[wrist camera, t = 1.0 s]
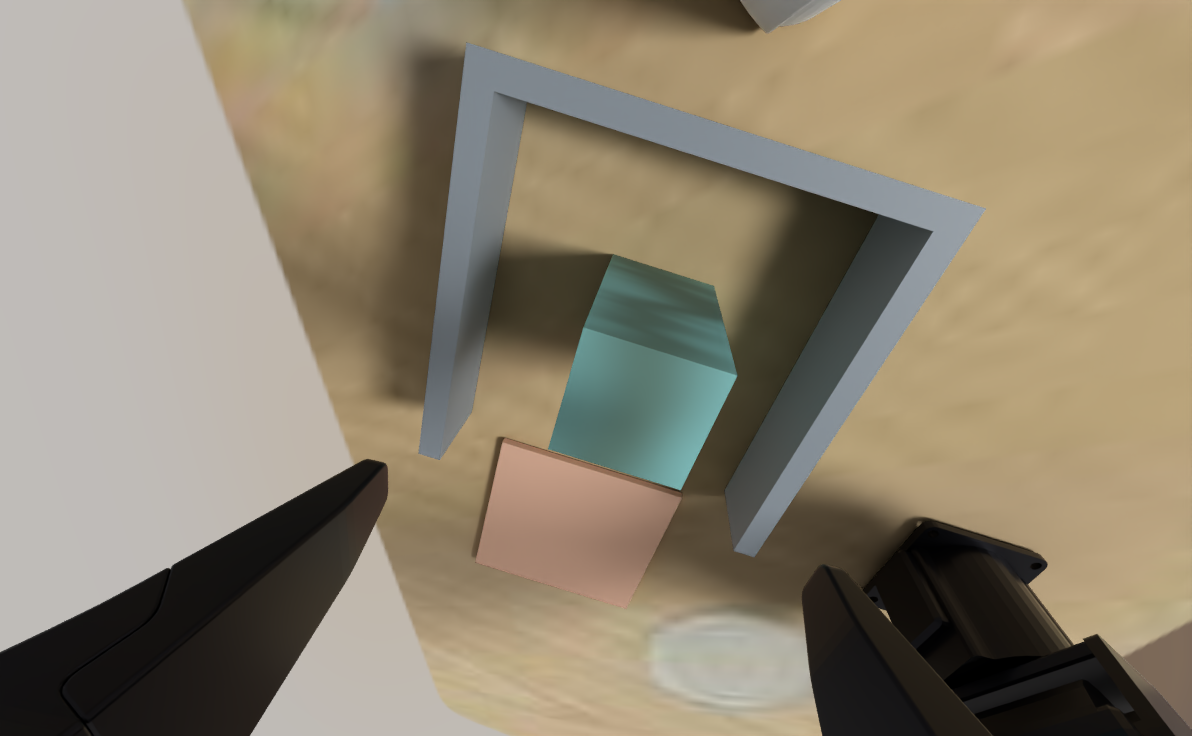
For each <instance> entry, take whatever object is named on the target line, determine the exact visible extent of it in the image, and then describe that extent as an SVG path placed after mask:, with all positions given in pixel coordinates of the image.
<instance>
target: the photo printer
mask: <svg viewBox="0 0 1192 736" xmlns="http://www.w3.org/2000/svg"><path fill="white" fill-rule="evenodd" d="M740 1H741V3H742V4H743V6H744V7H745V9H746V10H747V11H748V13H749V14H750V16H751V17H752V18H753V19H754V21H755V22H756V23H757V24H758V25H759V26H760V28H761V29H762V30H763V31H764V32H765V33H770V32H772V31H773V30H774V29H776V28H777V27H778V26H789V25H795V24H799V23H802V22H804V21H807V20H809V19H811V18H813V17H814V16H816V15H818V14H819V13H821V12H822V11H824V10H826V9H827V8H829V7H831V6H832V5H834V4H836V3H837V2H839V1H841V0H740Z"/></svg>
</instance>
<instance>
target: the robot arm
mask: <svg viewBox="0 0 1192 736" xmlns="http://www.w3.org/2000/svg"><path fill="white" fill-rule="evenodd" d="M387 496H388V467H387V465H386V464H385V463H384V462H379V461H375V460H371V459H366V460H363V461H361V462H359V463H357V464H355V465H353V466H352V467H350V468H348V469H346V470H344V471H343V472H341V473H339V474H337V475H335V476H333V477H332V478H330V479H328V480H326V481H324V482H323V483H321V484H319V485H317V486H315V487H313V488H312V489H310V490H308V491H306V492H304V493H303V494H301V495H299V496H297V497H295V498H293V499H292V500H290V501H288V502H286V503H284V504H283V505H281V506H279V507H277V508H276V509H274V510H272V511H270V512H268V513H266V514H264V515H263V516H261V517H259V518H257V519H255V520H254V521H252V522H250V523H248V524H246V525H244V526H243V527H241V528H239V529H237V530H235V531H234V532H232V533H230V534H228V535H226V536H224V537H223V538H221V539H219V540H217V541H215V542H214V543H212V544H210V545H208V546H206V547H204V548H203V549H201V550H199V551H197V552H196V553H194V554H192V555H190V556H188V557H186V558H185V559H183V560H181V561H179V562H177V563H176V564H174V565H173V566H172V567H171V569H169V568H166V569H164V570H163V571H161V572H159V573H157V574H155V575H153V576H152V577H150V578H148V579H146V580H144V581H143V582H141V583H139V584H137V585H135V586H133V587H131V588H129V589H127V590H125V591H124V592H122V593H120V594H118V595H116V596H114V597H112V598H111V599H109V600H107V601H105V602H103V603H101V604H100V605H97V606H95V607H93V608H91V609H89V610H87V611H85V612H83V613H81V614H79V615H77V616H75V617H73V618H71V619H69V620H66V621H64V622H62V623H61V624H58V625H56V626H55V627H52V628H50V629H48V630H46V631H44V632H42V633H40V634H38V635H35V636H33V637H32V638H29V639H27V640H25V641H23V642H21V643H19V644H17V645H14V646H12V647H10V648H8V649H6V650H4V651H2V652H0V736H250V734H251V733H252V731H253V730H254V728H255V727H256V725H257V723H258V722H259V720H260V719H261V717H262V715H263V714H264V712H265V711H266V709H267V707H268V706H269V704H270V703H271V701H272V699H273V698H274V696H275V695H276V693H277V691H278V690H279V688H280V686H281V685H282V683H283V682H284V680H285V679H286V677H287V675H288V674H289V672H290V671H291V669H292V667H293V666H294V664H295V663H296V661H297V659H298V658H299V656H300V655H301V653H302V651H303V650H304V648H305V647H306V645H307V643H308V642H309V640H310V639H311V637H312V635H313V634H314V632H315V630H316V629H317V627H318V626H319V624H320V623H321V621H322V619H323V618H324V616H325V614H326V613H327V611H328V609H329V608H330V607H331V605H332V603H333V602H334V600H335V599H336V597H337V595H338V594H339V592H340V591H341V589H342V587H343V586H344V584H345V582H346V581H347V579H348V577H349V576H350V574H351V572H352V570H353V568H354V566H355V564H356V562H357V560H358V558H359V556H360V554H361V552H362V550H363V548H364V546H365V544H366V542H367V540H368V538H369V535H370V533H371V531H372V529H373V527H374V525H375V523H376V521H377V519H378V517H379V515H380V513H381V511H382V509H383V507H384V505H385V502H386V500H387ZM1047 565H1048V564H1047V562H1046V561H1045V560H1044V558H1043V557H1042V556H1041V555H1040V554H1038V553H1035V552H1031V551H1028V550H1025V549H1022V548H1019V547H1015V546H1012V545H1009V544H1006V543H1002V542H999V541H996V540H993V539H990V538H986V537H983V536H980V535H977V534H974V533H970V532H967V531H964V530H961V529H958V528H954V527H951V526H948V525H945V524H941V523H938V522H935V521H927V522H924V523H922V524H921V525H920V526H919V527H918V528H917V529H916V530H915V531H914V533H913V534H912V535H911V536H910V537H909V538H908V539H907V540H906V542H905V543H904V544H903V545H902V546H901V547H900V548H899V550H898V551H897V552H896V553H895V554H894V555H893V556H892V558H891V559H890V560H889V561H888V562H887V563H886V564H885V565H884V567H883V568H882V569H881V570H880V571H879V572H878V573H877V575H876V576H875V577H874V578H873V579H872V580H871V581H870V582H869V584H868V585H867V586H866V587H865V588H864V589H863V590H862V589H861V588H860V587H859V586H858V585H857V584H856V583H855V581H854V580H853V579H852V578H851V577H850V576H849V575H848V574H847V573H846V572H845V571H844V570H843V569H841V568H839V567H834V566H830V565H826V564H822V565H820V566H819V567H818V568H817V569H816V571H815V572H814V574H813V575H812V576H811V578H810V579H809V581H808V582H807V584H806V585H805V587H804V589H803V592H802V606H803V615H804V625H805V634H806V644H807V653H808V662H809V670H810V677H811V683H812V688H813V693H814V698H815V703H816V708H817V713H818V717H819V722H820V727H821V732H822V736H1192V729H1191V728H1190V727H1189V726H1188V725H1187V724H1186V723H1185V722H1184V720H1183V719H1182V718H1181V717H1180V716H1179V715H1178V713H1177V712H1176V711H1175V710H1174V709H1173V708H1172V707H1171V705H1170V704H1169V703H1168V702H1167V701H1166V700H1165V699H1164V698H1163V696H1162V695H1161V694H1160V693H1159V692H1158V691H1157V690H1156V689H1155V688H1154V687H1153V686H1152V685H1151V684H1150V683H1149V682H1148V681H1147V680H1146V679H1145V678H1144V677H1143V676H1142V675H1141V674H1139V673H1138V672H1137V671H1136V670H1135V669H1134V668H1133V667H1132V666H1131V665H1130V664H1129V663H1128V662H1127V661H1126V660H1125V659H1124V658H1123V657H1121V656H1120V655H1119V654H1118V653H1117V652H1116V651H1115V650H1114V649H1113V648H1112V647H1111V646H1110V645H1109V644H1108V643H1107V642H1106V641H1104V640H1103V639H1102V638H1101V637H1100V636H1099V635H1098V634H1095V635H1092V636H1090V637H1087V638H1084V639H1083V640H1084V642H1082V643H1079V644H1076V645H1074V644H1073V643H1072V642H1071V640H1070V639H1069V638H1068V636H1067V635H1066V634H1065V633H1064V631H1063V630H1062V629H1061V627H1060V626H1059V625H1058V623H1057V622H1056V621H1055V619H1054V618H1053V617H1052V616H1051V614H1050V613H1049V612H1048V610H1047V609H1046V608H1045V606H1044V605H1043V604H1042V602H1041V601H1040V600H1039V599H1038V597H1037V596H1036V595H1035V593H1034V592H1033V591H1032V589H1031V588H1030V587H1029V585H1028V584H1029V583H1030V582H1031V581H1032V580H1033V579H1034V578H1036V577H1037V576H1038V575H1039V574H1040V573H1041V572H1043V571H1044V570H1045V569H1046V567H1047ZM879 608H880V609H883V610H886V611H887V613H888V615H889V617H890V620H891V622H892V623H891V622H890V621H889V619H888V618H887V617H886V616H885V615H884V614H883V613H882V612H881V611H880V609H879Z"/></svg>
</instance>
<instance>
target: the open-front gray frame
mask: <svg viewBox="0 0 1192 736" xmlns="http://www.w3.org/2000/svg"><path fill="white" fill-rule="evenodd" d="M527 102H529V103H532V104H535V105H539V106H542V107H545V108H548V109H551V110H554V111H557V112H561V113H564V114H567V115H570V116H573V117H576V118H579V119H583V120H586V121H589V122H592V123H595V124H598V125H601V126H604V127H608V128H611V129H614V130H617V131H620V132H623V133H626V134H630V135H633V136H636V137H639V138H642V139H645V140H648V141H651V142H655V143H658V144H661V145H664V146H667V147H670V148H673V149H677V150H680V151H683V152H686V153H689V154H692V155H695V156H698V157H702V158H705V159H708V160H711V161H714V162H717V163H720V164H724V165H727V166H730V167H733V168H736V169H739V170H742V171H746V172H749V173H752V174H755V175H758V176H761V177H764V178H767V179H771V180H774V181H777V182H780V183H783V184H786V185H789V186H793V187H796V188H799V189H802V190H805V191H808V192H811V193H814V194H818V195H821V196H824V197H827V198H830V199H833V200H836V201H840V202H843V203H846V204H849V205H852V206H855V207H858V208H862V209H865V210H868V211H871V212H874V213H877V214H879V215H878V217H877V219H876V220H875V222H874V224H873V226H872V228H871V229H870V231H869V233H868V235H867V237H866V238H865V240H864V242H863V244H862V246H861V247H860V249H859V251H858V253H857V254H856V256H855V258H854V260H853V262H852V263H851V265H850V267H849V269H848V271H847V272H846V274H845V276H844V278H843V280H842V281H841V283H840V285H839V287H838V288H837V290H836V292H835V294H834V296H833V297H832V299H831V301H830V303H829V305H828V306H827V308H826V310H825V312H824V314H823V315H822V317H821V319H820V321H819V322H818V324H817V326H816V328H815V330H814V331H813V333H812V335H811V337H810V339H809V340H808V342H807V344H806V346H805V347H804V349H803V351H802V353H801V355H800V356H799V358H798V360H797V362H796V364H795V365H794V367H793V369H792V371H791V373H790V374H789V376H788V378H787V380H786V381H785V383H784V385H783V387H782V389H781V390H780V392H779V394H778V396H777V398H776V399H775V401H774V403H773V405H772V407H771V408H770V410H769V412H768V414H767V415H766V417H765V419H764V421H763V423H762V424H761V426H760V428H759V430H758V432H757V433H756V435H755V437H754V439H753V441H752V442H751V444H750V446H749V448H748V449H747V451H746V453H745V455H744V457H743V458H742V460H741V462H740V464H739V466H738V467H737V469H736V471H735V473H734V475H733V476H732V478H731V480H730V482H729V483H728V485H727V487H726V489H725V497H726V504H727V511H728V517H729V524H730V531H731V538H732V544H733V551H735V552H739V553H742V554H745V555H748V556H752V557H755V556H756V554H757V553H758V551H759V550H760V548H761V546H762V545H763V543H764V542H765V540H766V539H767V537H768V536H769V534H770V533H771V531H772V530H773V528H774V527H775V525H776V524H777V522H778V521H779V519H780V518H781V516H782V515H783V513H784V512H785V510H786V509H787V507H788V506H789V504H790V503H791V501H792V500H793V498H794V497H795V495H796V494H797V492H798V491H799V489H800V488H801V486H802V485H803V483H804V482H805V480H806V479H807V477H808V476H809V474H810V473H811V471H812V470H813V468H814V467H815V465H816V464H817V462H818V461H819V459H820V458H821V456H822V455H823V453H824V452H825V450H826V449H827V447H828V446H829V444H830V443H831V441H832V440H833V438H834V437H835V435H836V434H837V432H838V431H839V429H840V428H841V426H842V425H843V423H844V422H845V420H846V419H847V417H848V416H849V414H850V413H851V411H852V410H853V408H854V407H855V405H856V404H857V402H858V401H859V399H860V398H861V396H862V395H863V393H864V392H865V390H866V389H867V387H868V386H869V384H870V383H871V381H872V380H873V378H874V377H875V375H876V374H877V372H878V370H879V369H880V367H881V366H882V364H883V363H884V361H885V360H886V358H887V357H888V355H889V354H890V352H891V351H892V349H893V348H894V346H895V345H896V343H897V342H898V340H899V339H900V337H901V336H902V334H903V333H904V331H905V330H906V328H907V327H908V325H909V324H910V322H911V321H912V319H913V318H914V316H915V315H916V313H917V312H918V310H919V309H920V307H921V306H922V304H923V303H924V301H925V300H926V298H927V297H928V295H929V294H930V292H931V291H932V289H933V288H934V286H935V285H936V283H937V282H938V280H939V279H940V277H941V276H942V274H943V273H944V271H945V270H946V268H947V267H948V265H949V264H950V262H951V261H952V259H953V258H954V256H955V255H956V253H957V252H958V250H959V249H960V247H961V246H962V244H963V243H964V241H965V240H966V238H967V237H968V235H969V234H970V232H971V231H972V229H973V228H974V226H975V225H976V223H977V222H978V220H979V219H980V217H981V216H982V214H983V213H984V211H985V210H986V208H982V207H979V206H976V205H973V204H970V203H967V202H964V201H961V200H957V199H954V198H951V197H948V196H945V195H942V194H939V193H936V192H932V191H929V190H926V189H923V188H920V187H917V186H914V185H911V184H907V183H904V182H901V181H898V180H895V179H892V178H889V177H886V176H882V175H879V174H876V173H873V172H870V171H867V170H864V169H861V168H857V167H854V166H851V165H848V164H845V163H842V162H839V161H836V160H832V159H829V158H826V157H823V156H820V155H817V154H814V153H811V152H807V151H804V150H801V149H798V148H795V147H792V146H789V145H786V144H782V143H779V142H776V141H773V140H770V139H767V138H764V137H761V136H757V135H754V134H751V133H748V132H745V131H742V130H739V129H736V128H732V127H729V126H726V125H723V124H720V123H717V122H714V121H711V120H707V119H704V118H701V117H698V116H695V115H692V114H689V113H686V112H682V111H679V110H676V109H673V108H670V107H667V106H664V105H661V104H657V103H654V102H651V101H648V100H645V99H642V98H639V97H636V96H632V95H629V94H626V93H623V92H620V91H617V90H614V89H611V88H607V87H604V86H601V85H598V84H595V83H592V82H589V81H586V80H582V79H579V78H576V77H573V76H570V75H567V74H564V73H561V72H557V71H554V70H551V69H548V68H545V67H542V66H539V65H536V64H532V63H529V62H526V61H523V60H520V59H517V58H514V57H511V56H507V55H504V54H501V53H498V52H495V51H492V50H489V49H486V48H482V47H479V46H476V45H473V44H470V43H467V42H466V51H465V59H464V68H463V76H462V85H461V94H460V102H459V111H458V119H457V128H456V137H455V145H454V154H453V162H452V171H451V179H450V188H449V197H448V205H447V214H446V222H445V231H444V240H443V248H442V257H441V265H440V274H439V282H438V291H437V300H436V308H435V317H434V325H433V334H432V343H431V351H430V360H429V368H428V377H427V386H426V394H425V403H424V411H423V420H422V428H421V437H420V446H419V454H422V455H425V456H428V457H431V458H434V459H438V460H440V459H441V457H442V456H443V454H444V453H445V451H446V450H447V448H448V447H449V445H450V444H451V442H452V441H453V439H454V438H455V436H456V435H457V433H458V432H459V430H460V429H461V427H462V426H463V424H464V423H465V421H466V420H467V418H468V417H469V415H470V414H471V412H472V408H473V402H474V397H475V391H476V385H477V380H478V374H479V369H480V363H481V357H482V352H483V346H484V341H485V335H486V329H487V324H488V318H489V313H490V307H491V301H492V296H493V290H494V285H495V279H496V273H497V268H498V262H499V256H500V251H501V245H502V240H503V234H504V228H505V223H506V217H507V212H508V206H509V200H510V195H511V189H512V184H513V178H514V172H515V167H516V161H517V156H518V150H519V144H520V139H521V133H522V128H523V122H524V116H525V111H526V105H527Z"/></svg>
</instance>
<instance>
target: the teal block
mask: <svg viewBox="0 0 1192 736" xmlns="http://www.w3.org/2000/svg"><path fill="white" fill-rule="evenodd" d="M736 378H737V372H736V368H735V365H734V361H733V357H732V353H731V349H730V346H729V342H728V338H727V334H726V330H725V327H724V323H723V319H722V315H721V311H720V307H719V304H718V300H717V296H716V292H715V288H714V286H712V285H709V284H706V283H703V282H700V281H696V280H693V279H690V278H687V277H684V276H681V275H677V274H674V273H671V272H668V271H665V270H662V269H658V268H655V267H652V266H649V265H646V264H643V263H639V262H636V261H633V260H630V259H627V258H624V257H620V256H617V255H614V254H613V256H612V258H611V261H610V263H609V266H608V268H607V271H606V273H605V276H604V278H603V280H602V283H601V285H600V288H599V290H598V293H597V295H596V298H595V300H594V303H593V305H592V308H591V310H590V313H589V315H588V317H587V320H586V322H585V325H584V327H583V331H582V334H581V338H580V341H579V345H578V348H577V351H576V355H575V358H574V362H573V365H572V369H571V372H570V376H569V379H568V382H567V386H566V389H565V393H564V396H563V400H562V403H561V407H560V410H559V413H558V417H557V420H556V424H555V427H554V431H553V434H552V438H551V441H550V444H549V448H548V449H549V450H553V451H556V452H559V453H562V454H565V455H569V456H572V457H575V458H578V459H582V460H585V461H588V462H591V463H594V464H598V465H601V466H604V467H607V468H611V469H614V470H617V471H620V472H623V473H627V474H630V475H633V476H636V477H640V478H643V479H646V480H649V481H652V482H656V483H659V484H662V485H665V486H669V487H672V488H675V489H678V490H681V488H682V486H683V484H684V482H685V480H686V478H687V476H688V474H689V472H690V470H691V468H692V466H693V464H694V462H695V460H696V458H697V456H698V454H699V452H700V450H701V448H702V446H703V444H704V442H705V440H706V438H707V436H708V434H709V432H710V430H711V428H712V426H713V424H714V422H715V420H716V418H717V416H718V414H719V412H720V410H721V408H722V406H723V404H724V402H725V400H726V398H727V396H728V394H729V392H730V390H731V388H732V386H733V384H734V382H735V380H736Z"/></svg>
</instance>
